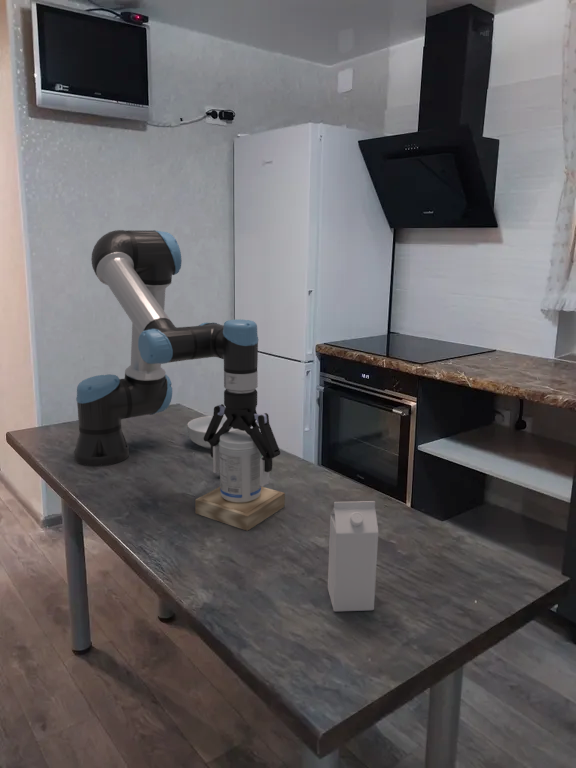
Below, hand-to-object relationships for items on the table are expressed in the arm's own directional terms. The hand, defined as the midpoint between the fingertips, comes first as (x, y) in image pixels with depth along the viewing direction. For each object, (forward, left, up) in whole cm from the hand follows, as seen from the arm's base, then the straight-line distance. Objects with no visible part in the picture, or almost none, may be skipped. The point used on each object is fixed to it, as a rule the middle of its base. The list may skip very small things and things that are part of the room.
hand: (240, 477), depth 140 cm
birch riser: (0, 0, -8) cm, 8 cm away
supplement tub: (0, 0, -5) cm, 5 cm away
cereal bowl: (-34, +32, -8) cm, 47 cm away
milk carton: (+38, -18, -8) cm, 43 cm away
